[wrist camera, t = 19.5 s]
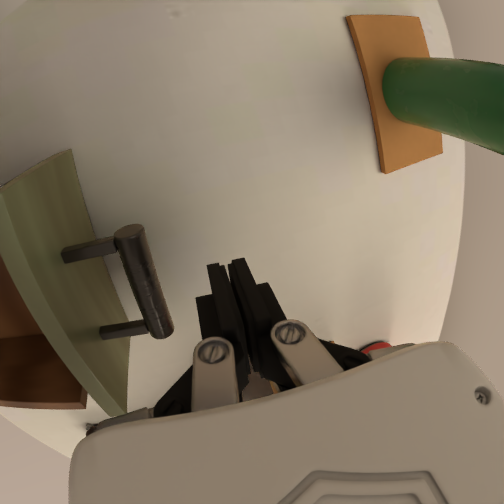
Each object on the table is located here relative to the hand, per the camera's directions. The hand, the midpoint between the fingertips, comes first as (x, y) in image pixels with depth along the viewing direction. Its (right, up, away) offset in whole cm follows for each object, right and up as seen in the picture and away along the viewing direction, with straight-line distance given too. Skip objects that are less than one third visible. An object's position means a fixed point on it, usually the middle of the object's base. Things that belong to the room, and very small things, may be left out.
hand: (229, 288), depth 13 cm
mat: (+12, +14, +4) cm, 19 cm away
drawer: (-13, +1, +3) cm, 13 cm away
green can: (+12, +13, +3) cm, 18 cm away
